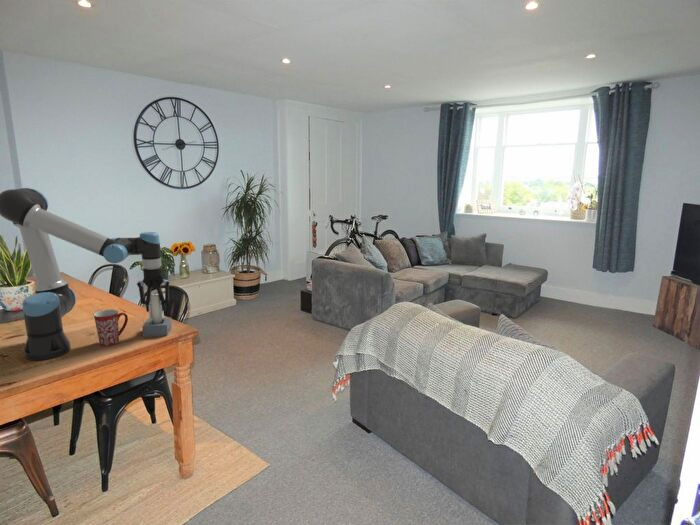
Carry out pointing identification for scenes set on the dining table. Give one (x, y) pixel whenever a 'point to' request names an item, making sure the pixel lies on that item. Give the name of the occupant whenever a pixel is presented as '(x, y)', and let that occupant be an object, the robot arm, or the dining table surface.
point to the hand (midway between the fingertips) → (156, 317)
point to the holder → (157, 328)
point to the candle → (155, 309)
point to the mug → (108, 326)
